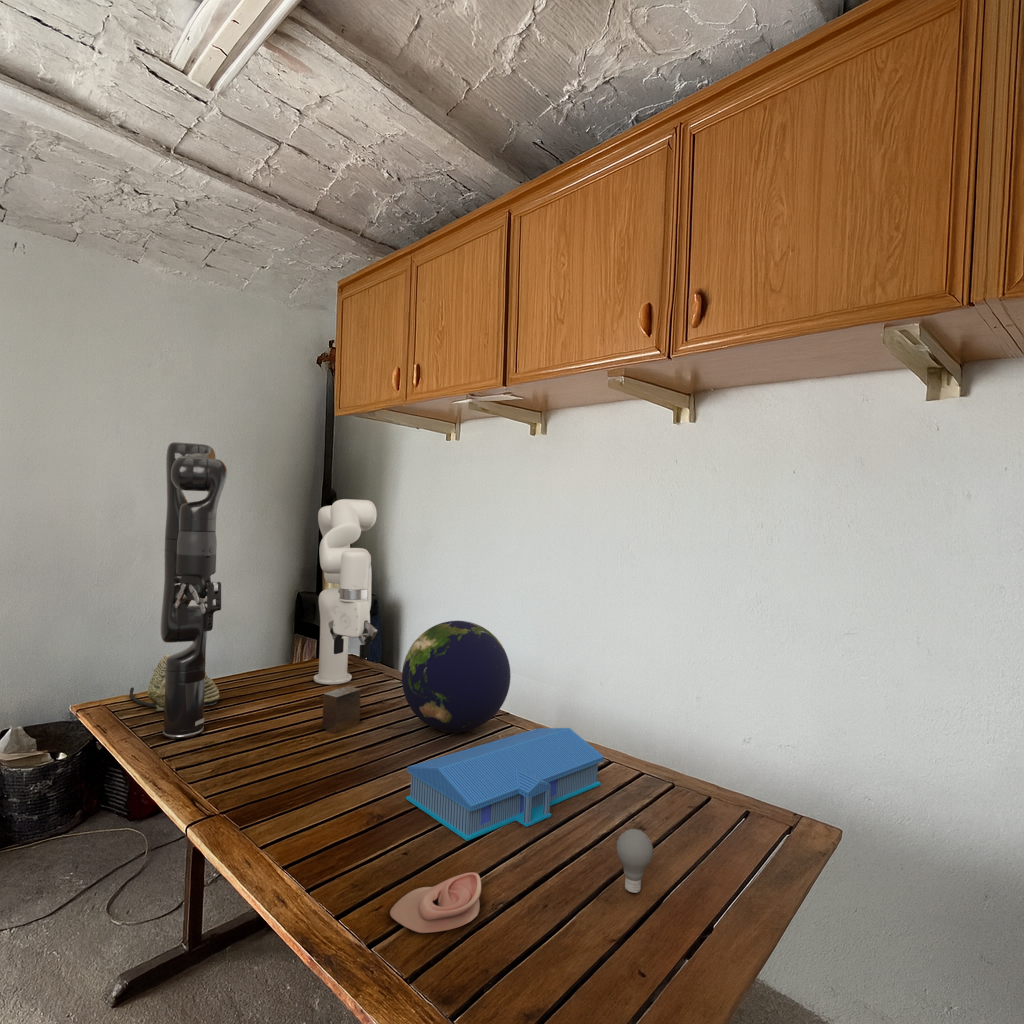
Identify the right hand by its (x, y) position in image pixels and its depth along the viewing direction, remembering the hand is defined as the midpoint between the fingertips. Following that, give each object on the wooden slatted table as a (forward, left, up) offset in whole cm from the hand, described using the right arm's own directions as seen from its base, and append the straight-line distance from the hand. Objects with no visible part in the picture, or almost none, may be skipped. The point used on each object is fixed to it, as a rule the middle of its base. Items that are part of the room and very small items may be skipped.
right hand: (351, 655), depth 177 cm
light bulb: (+89, +39, -19) cm, 99 cm away
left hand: (+32, -36, +15) cm, 50 cm away
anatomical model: (+86, +7, -19) cm, 88 cm away
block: (+2, -2, -19) cm, 19 cm away
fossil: (-23, -45, -19) cm, 54 cm away
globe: (+11, +28, -19) cm, 35 cm away
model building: (+51, +31, -19) cm, 63 cm away
